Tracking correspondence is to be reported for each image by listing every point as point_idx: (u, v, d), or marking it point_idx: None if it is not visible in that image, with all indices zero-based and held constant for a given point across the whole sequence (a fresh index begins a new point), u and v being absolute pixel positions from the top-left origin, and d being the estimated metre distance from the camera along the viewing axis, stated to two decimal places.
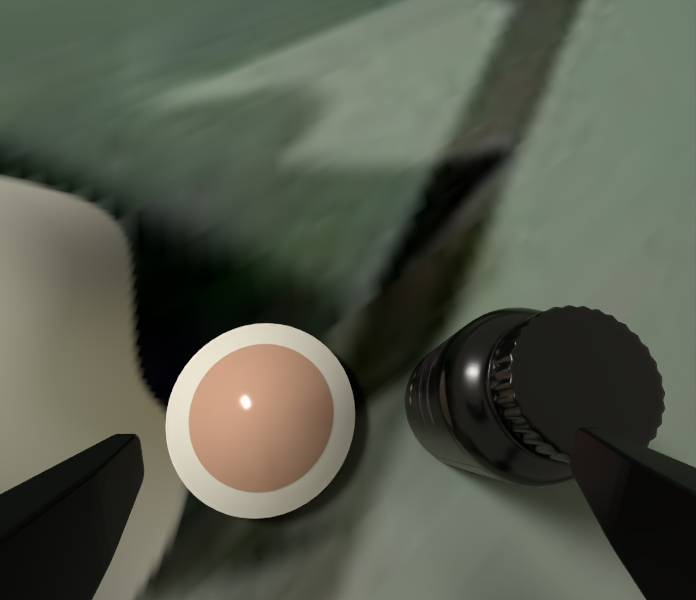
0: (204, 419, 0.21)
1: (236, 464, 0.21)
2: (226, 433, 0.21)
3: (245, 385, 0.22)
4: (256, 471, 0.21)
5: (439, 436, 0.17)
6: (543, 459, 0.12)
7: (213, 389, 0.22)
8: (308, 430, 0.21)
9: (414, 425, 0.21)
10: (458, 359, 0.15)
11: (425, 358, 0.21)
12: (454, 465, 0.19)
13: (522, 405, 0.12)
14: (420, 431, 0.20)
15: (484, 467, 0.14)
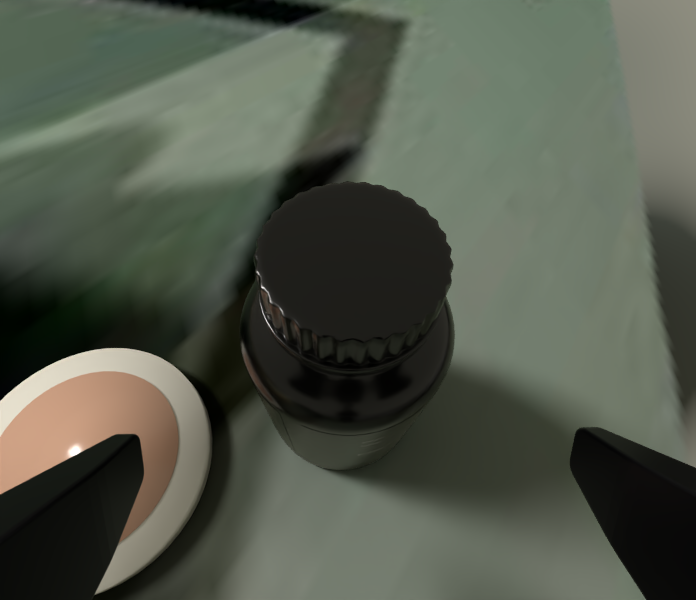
0: (4, 481, 0.16)
1: None
2: None
3: (63, 426, 0.17)
4: None
5: (270, 412, 0.13)
6: (333, 368, 0.09)
7: (20, 440, 0.17)
8: (146, 465, 0.17)
9: None
10: (250, 296, 0.12)
11: None
12: (321, 459, 0.16)
13: (271, 291, 0.09)
14: (277, 428, 0.16)
15: (297, 419, 0.11)
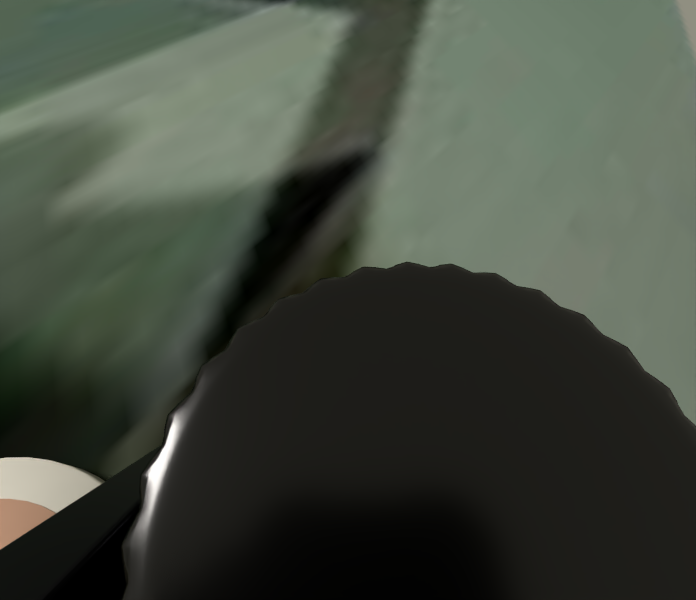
0: None
1: None
2: None
3: None
4: None
5: None
6: None
7: None
8: None
9: None
10: None
11: None
12: None
13: None
14: None
15: None
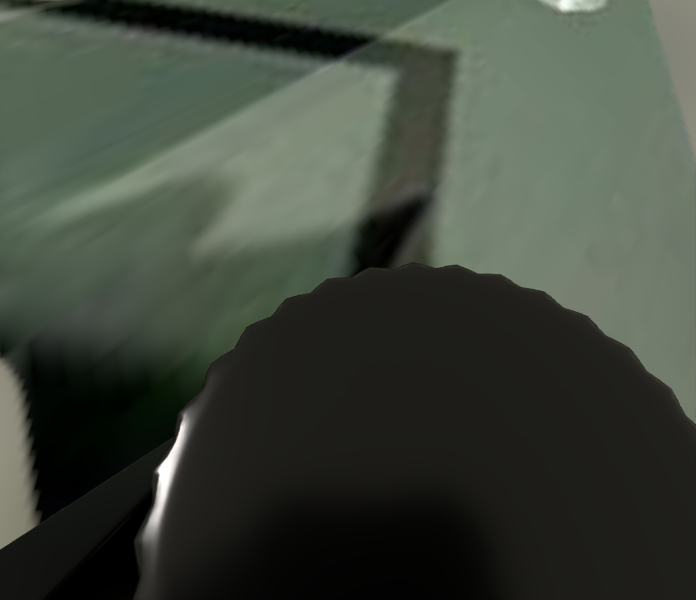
0: None
1: None
2: None
3: None
4: None
5: None
6: None
7: None
8: None
9: None
10: None
11: None
12: None
13: None
14: None
15: None
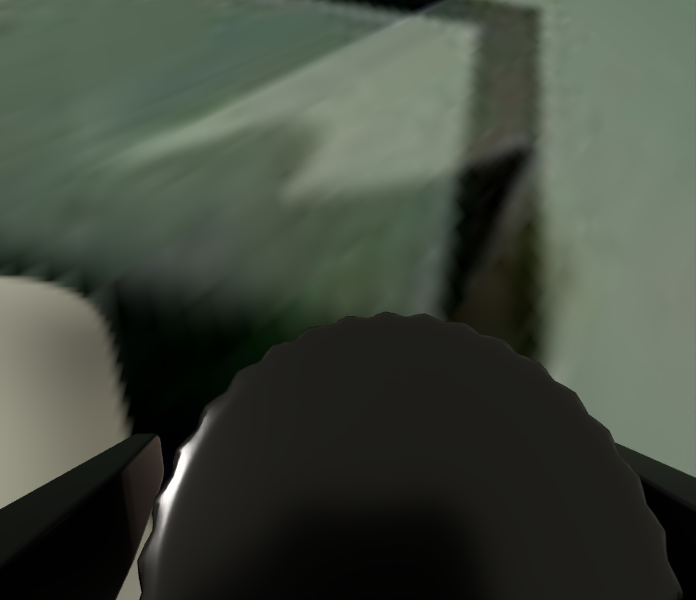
0: None
1: None
2: None
3: None
4: None
5: None
6: None
7: None
8: None
9: None
10: None
11: None
12: None
13: None
14: None
15: None
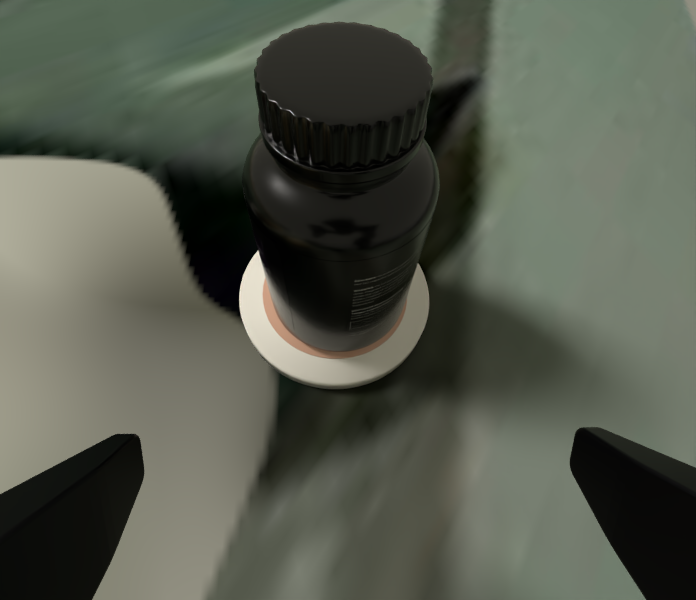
0: None
1: None
2: None
3: None
4: None
5: (270, 265, 0.15)
6: (325, 171, 0.11)
7: None
8: None
9: (276, 307, 0.18)
10: (252, 146, 0.13)
11: None
12: (318, 327, 0.17)
13: (270, 92, 0.10)
14: (277, 304, 0.17)
15: (295, 243, 0.12)
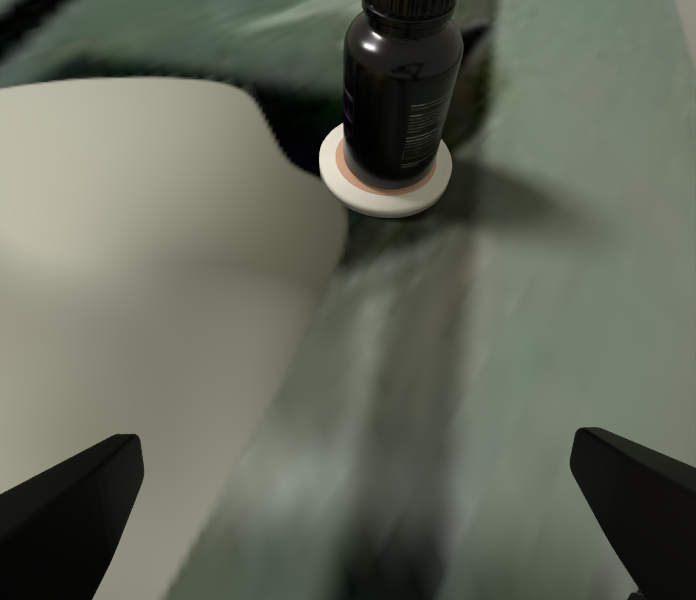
0: None
1: None
2: None
3: None
4: None
5: (357, 104, 0.24)
6: (403, 20, 0.19)
7: None
8: None
9: (350, 154, 0.27)
10: (350, 25, 0.22)
11: None
12: (382, 158, 0.26)
13: None
14: (353, 147, 0.26)
15: (380, 74, 0.21)
